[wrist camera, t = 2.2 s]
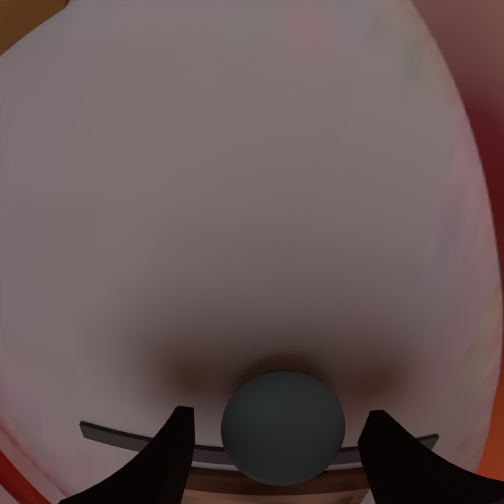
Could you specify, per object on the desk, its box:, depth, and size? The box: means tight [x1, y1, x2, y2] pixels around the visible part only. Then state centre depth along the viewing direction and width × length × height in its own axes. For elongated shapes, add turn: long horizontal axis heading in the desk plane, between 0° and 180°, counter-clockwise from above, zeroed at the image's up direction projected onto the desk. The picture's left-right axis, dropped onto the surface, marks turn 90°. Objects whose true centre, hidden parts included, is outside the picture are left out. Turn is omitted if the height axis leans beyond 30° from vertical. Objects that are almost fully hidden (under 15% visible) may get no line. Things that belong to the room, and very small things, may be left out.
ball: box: [221, 371, 345, 486], centre depth 11 cm, size 5×5×5 cm
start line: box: [79, 421, 439, 465], centre depth 15 cm, size 22×1×1 cm, turn 85°
